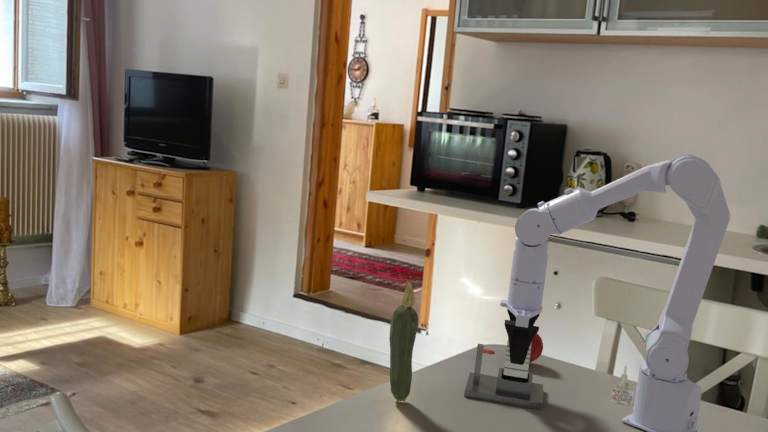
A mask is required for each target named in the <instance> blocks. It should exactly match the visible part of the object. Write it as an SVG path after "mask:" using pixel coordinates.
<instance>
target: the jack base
mask: <svg viewBox="0 0 768 432" xmlns="http://www.w3.org/2000/svg"><path fill="white" fill-rule="evenodd" d="M484 346H485V345H484V344H483V343H477V347H476V353H475V354H476V355H475V363H474V371H473V372H469V375H468V378H467V380H466V381H467V382H466V386H465V389H464V394H463V397H466V398H471V399H476V400H482V401H488V402H495V403H498V404H506V405H510V406H517V407H522V408H529V409H535V410H539V411H542V410H543V404H544V384H543V383H536V382H533V372H529V371H528V376H527V379H526V378H520V377H514V376H508V375H503V374H504V367H499V369H498V373H497V376H494V375H488V374H483V373H482V374H481V369H482V361H483V354H485V355H486V354H488V355H495V352H496V351H495V350H493V349H488V348H484Z"/></svg>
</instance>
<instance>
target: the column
mask: <svg viewBox="0 0 768 432" xmlns="http://www.w3.org/2000/svg"><path fill="white" fill-rule="evenodd" d="M531 344H532V342H531ZM531 344H530V347H529V350H528V353H527V356H526V359H525V362H524V364H523V365H519V364H513V363H511V361H510V350H509V339H508V338H507V342H506V351H505V358H504V364H503V365H504V367H503V368H504V374H503V375H508V376H514V377H520V378H526V379H527V376H528V372H529V366H530V363H529V361H530V354H531Z"/></svg>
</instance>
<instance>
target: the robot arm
mask: <svg viewBox="0 0 768 432" xmlns="http://www.w3.org/2000/svg"><path fill="white" fill-rule="evenodd" d="M666 186H669V188H670V189H671V190H672V192H674V193H675V195H677V196H678V197H679V198H680V199H682V200H683V201H684V202H685V203H686V206H687V207H688V209H689V210H690V212H691V214H692V215H693V216H694V221H693V224H692V227H691V229H690V233H689V236H688V238H687V241H686V244H685V247H684V250H683V253H682V256H681V259H680V262H679V264H678V265H679V266H678V268H677V271H676V273H675V277H674V278H673V279H674V280H673V282H672V286H671V288H670V291H669V294H668V297H667V300H666V303H665V306H664V308H663V310H662V312H661V314H660V316H659V318H658V321H657V324H656V325H655V327H654V328H653V329H651V330H650V331H649V332H648V333H647V335H646V337H645V340H644V348H645V351H646V353H645V360H644V361H643V362H642V363H640V364H639V368H638V369H639V370H638V375H637V382H636V389H635V394H634V395H635V396H634V401H633V402H634V403H633V408H632V412H631V413H630V414H628V415H626V416H625V417H622V418H621V422H622V423H625V424H626V425H630V426H632V427H635V428H639V429H641V430H643V431H645V432H697V431H698V428H697V423H698V418H699V411H700V406H701V401H702V387H701V386H700V385H699V384H697V383H695V382H693V381H691V380H690V379H688V373H687V370H688V367H689V363H690V358H689V353H688V349H689V348H688V347H689V344H690V342H691V339H692V338H691V336H692V333H693V332H692V331H693V325H694V321H695V319H696V315H697V313H698V311H699V307H700V305H701V302H702V299H703V297H704V294H705V292H706V288H707V286H708V281H709V280H710V276H711V274H712V271H713V269H714V268H713V267H714V266H715V262H716V260H717V257H718V254H719V251H720V248H721V245H722V243H723V240H724V238H725V234H726V231H727V228H728V225H729V223H730V219H731V213H730V210H729V206H728V203H727V199H726V196H725V194H724V191H723V187H722V184H721V179H720V177H719V175H718V174H717V173H716V171H715V170H714V169H713V168H712V166H710V164H709V163H708V162H707V161H706V160H705V159H703V158H701V157H698V156H696V155H694V154H681V155H679V156H677V157H674V158H672V159H671V160H670V159H665V160H663V161H659V162H658V161H657V162H655V163H652V164H649V165H646V166H643V167H641V168H639V169H637V170H634V171H633V172H630V173H628V174H627V175H625V176H622V177H620V178H617V179H615V180H614V181H611V182H609V183H607V184H605V185H603V186H601V187H599V188H596V189H594V190H592V191H588V190H587V189H585V188H581V187H579V188H576V189H573V188H572V187H569V188H568V189H565V190H564V192H563V193H564V194H562V195H560V196H558V197H557V198H553V199H551V200H549V201H547V202H545V201H544V200H542V201H540V202H538V203H537V207H538V208H537V207H536V208H530V209H527V210H526V211H524V212H523V213H522V214H521V215H519V216H518V218H517V220H516V221H515V223H514V224H515V225H514V233H515V235H516V237H515V238H516V240H515V243H514V250H513V253H512V254H513V256H512V264H511V269H510V270H511V271H510V279H509V287H508V296H507V300H503V299H502V300H500V305H499V306H500V307H501V308H506V311H507V314H508V317H509V319H505V320H504V329H505V332H506V334H507V340H508V339H509V350H510V361H511V363H513V364H519V365H523V364H524V362H525V359H526V356H527V353H528V350H529V347H530V344H531V342H532V340H533V338H534V337H535V335H536V334H537V333H538V332H539V330H540V326H537V325H535V323H536V322H537V320H538V319H539V317H540V314H541V313H542V312H543V306H542V305H543V297H544V292H545V291H544V289H545V281H546V274H547V266H548V258H549V255H548V248H549V242H550V240H549V238H550V237H551V236H552V235H557V236H558V235H559V236H560V235H562V234H564V233H566V232H569V231H571V230H573V229H576V228H578V227H580V226H583V225H586V224H588V223H590V222H592V221H595V219H596V217H597V215H598V214H597V213H598V211H599V210H600V209H602V208H605V207H608V206H611V205H613V204H616V203H618V202H621V201H624V200H626V199H628V198H629V199H630V198H631V197H633V196H636V195H639V194H641V193H643V192H656V193H665V194H666V193H667V187H666Z"/></svg>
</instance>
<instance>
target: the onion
mask: <svg viewBox="0 0 768 432" xmlns="http://www.w3.org/2000/svg"><path fill="white" fill-rule="evenodd" d="M543 350H544V343H543V340H542V337H541V336H540V334H539V333H538V332H537V334H536V335H535V337H534V338H533V340H532V344H531V354H530V361H529V364H531V363H533V362H534V361H536V360H538V359H539V358H540V357H541V355H542V354H543Z"/></svg>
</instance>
